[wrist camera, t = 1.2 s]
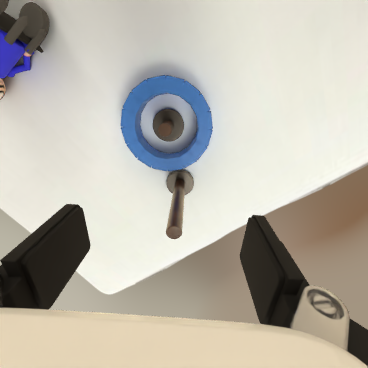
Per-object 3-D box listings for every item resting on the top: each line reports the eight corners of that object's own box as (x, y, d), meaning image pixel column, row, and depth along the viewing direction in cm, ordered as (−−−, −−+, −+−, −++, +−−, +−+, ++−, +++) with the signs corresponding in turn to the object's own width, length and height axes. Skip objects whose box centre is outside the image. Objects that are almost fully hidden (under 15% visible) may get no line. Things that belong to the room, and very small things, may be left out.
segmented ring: (204, 69, 26) (205, 66, 23) (214, 157, 31) (216, 163, 28) (116, 88, 27) (108, 86, 25) (140, 169, 33) (135, 176, 30)
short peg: (180, 106, 28) (179, 107, 24) (186, 137, 30) (185, 144, 26) (150, 112, 29) (142, 114, 24) (157, 142, 31) (151, 150, 26)
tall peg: (191, 167, 32) (191, 212, 20) (195, 191, 34) (198, 246, 22) (164, 171, 33) (147, 218, 20) (170, 195, 35) (158, 251, 22)
